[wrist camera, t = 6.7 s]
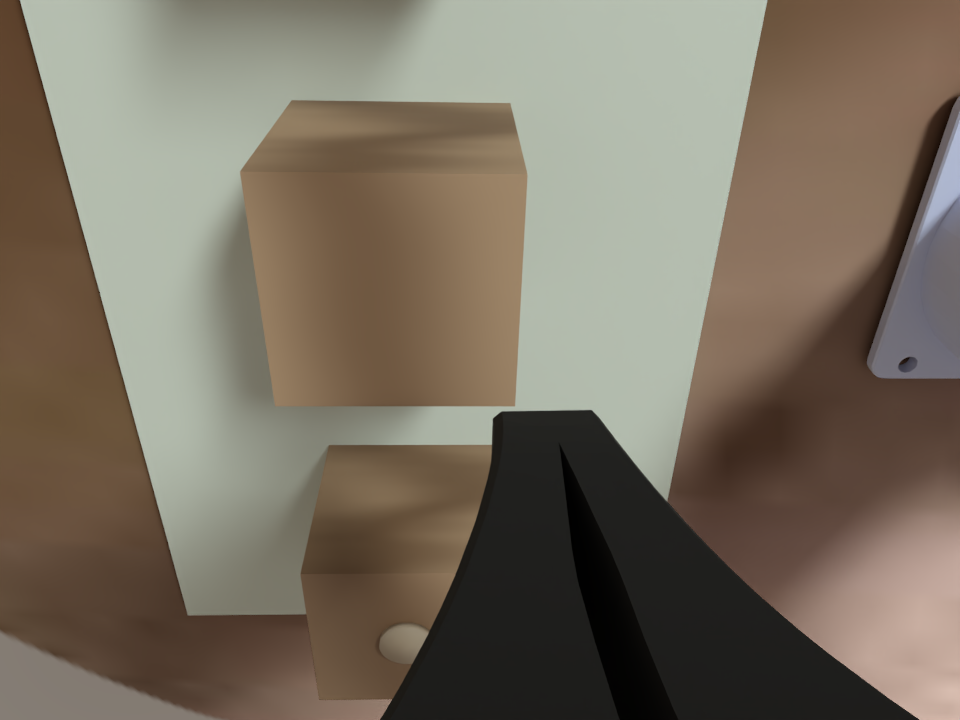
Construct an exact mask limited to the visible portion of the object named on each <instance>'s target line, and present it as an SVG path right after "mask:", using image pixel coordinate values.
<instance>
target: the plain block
mask: <svg viewBox="0 0 960 720" xmlns="http://www.w3.org/2000/svg"><path fill="white" fill-rule="evenodd" d="M240 176H241V183H242V189H243V196H244V203H245V209H246V216H247V223H248V229H249V236H250V243H251V249H252V256H253V263H254V269H255V276H256V283H257V289H258V296H259V302H260V309H261V316H262V322H263V329H264V336H265V342H266V349H267V356H268V362H269V369H270V376H271V382H272V389H273V396H274V402H275V406H515V399H516V380H517V362H518V343H519V325H520V306H521V288H522V269H523V251H524V232H525V214H526V195H527V177H528V174H527V170H526V166H525V162H524V158H523V153H522V149H521V145H520V141H519V137H518V133H517V129H516V124H515V120H514V116H513V112H512V108H511V104H510V103H465V102H391V101H316V100H291V102H290V103H289V105H288V106H287V107H286V109H285V110H284V111H283V113H282V114H281V116H280V117H279V118H278V120H277V121H276V122H275V124H274V125H273V127H272V128H271V129H270V131H269V132H268V133H267V135H266V136H265V138H264V139H263V140H262V142H261V143H260V144H259V146H258V147H257V149H256V150H255V151H254V153H253V154H252V155H251V157H250V158H249V160H248V161H247V162H246V164H245V165H244V166H243V168H242V169H241V171H240Z"/></svg>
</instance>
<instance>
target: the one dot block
mask: <svg viewBox="0 0 960 720" xmlns="http://www.w3.org/2000/svg"><path fill="white" fill-rule="evenodd" d="M491 454H492V445H329V447H328V451H327V456H326V460H325V465H324V469H323V474H322V479H321V483H320V488H319V492H318V497H317V501H316V506H315V510H314V515H313V519H312V524H311V528H310V533H309V537H308V542H307V546H306V551H305V555H304V560H303V564H302V569H301V573H300V575H301V582H302V589H303V595H304V602H305V609H306V615H307V622H308V629H309V635H310V642H311V649H312V655H313V662H314V669H315V675H316V682H317V689H318V695H319V700H361V699H393V698H394V696H395V694H396V692H397V691H398V689H399V687H400V685H401V684H402V682H403V680H404V678H405V676H406V675H407V673H408V671H409V669H410V667H411V665H412V663H413V662H414V660H415V658H416V656H417V654H418V652H419V650H420V648H421V647H422V645H423V643H424V641H425V639H426V637H427V635H428V633H429V631H430V629H431V627H432V625H433V623H434V621H435V619H436V617H437V615H438V612H439V610H440V608H441V606H442V604H443V602H444V600H445V597H446V595H447V593H448V591H449V588H450V586H451V584H452V581H453V579H454V577H455V574H456V572H457V569H458V567H459V564H460V561H461V559H462V556H463V553H464V551H465V548H466V545H467V543H468V540H469V537H470V535H471V532H472V529H473V527H474V524H475V521H476V518H477V514H478V511H479V507H480V504H481V500H482V497H483V493H484V490H485V486H486V482H487V479H488V474H489V469H490V464H491Z"/></svg>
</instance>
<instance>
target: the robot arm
mask: <svg viewBox="0 0 960 720" xmlns="http://www.w3.org/2000/svg"><path fill="white" fill-rule="evenodd" d="M907 357H910V358H909V360H908V361H907V362H906V363H904V364H901V365H899V363H900V362H901V361H902V360H903V359H905V358H907ZM867 365H868V367H869V369H870V370H871V372H872V373H873V374H874V375H876V376H877V377H879V378H890V379H960V97H959V98H958V99H957V100H956V102H955V104H954V106H953V108H952V111H951V114H950V117H949V120H948V123H947V126H946V129H945V132H944V134H943V137H942V140H941V143H940V146H939V149H938V152H937V155H936V158H935V161H934V164H933V167H932V170H931V173H930V176H929V179H928V182H927V184H926V187H925V190H924V193H923V196H922V199H921V202H920V205H919V208H918V211H917V214H916V217H915V220H914V223H913V226H912V229H911V232H910V234H909V237H908V240H907V243H906V246H905V249H904V252H903V255H902V258H901V261H900V264H899V267H898V270H897V273H896V276H895V279H894V282H893V284H892V287H891V290H890V293H889V296H888V299H887V302H886V305H885V308H884V311H883V314H882V317H881V320H880V323H879V326H878V329H877V332H876V334H875V337H874V340H873V343H872V346H871V349H870V352H869V355H868V358H867ZM380 720H919V719H918V718H916V717H915V716H913V715H912V714H910V713H909V712H907V711H906V710H905V709H903V708H902V707H900V706H899V705H897V704H896V703H895V702H893V701H892V700H890V699H889V698H887V697H886V696H885V695H883V694H882V693H881V692H879V691H878V690H877V689H875V688H874V687H873V686H871V685H870V684H869V683H867V682H866V681H865V680H863V679H862V678H861V677H859V676H858V675H857V674H855V673H854V672H852V671H851V670H850V669H848V668H847V667H846V666H844V665H843V664H842V663H840V662H839V661H838V660H836V659H835V658H834V657H832V656H831V655H830V654H828V653H827V652H826V651H825V650H823V649H822V648H821V647H820V646H818V645H817V644H816V643H815V642H813V641H812V640H811V639H810V638H808V637H807V636H806V635H805V634H803V633H802V632H801V631H800V630H798V629H797V628H796V627H795V626H794V625H793V624H791V623H790V622H789V621H788V620H787V619H786V618H784V617H783V616H782V615H781V614H780V613H779V612H778V611H776V610H775V609H774V608H773V607H772V606H771V605H769V604H768V603H767V602H766V601H765V600H764V599H762V598H761V597H760V596H759V595H758V594H757V593H756V592H755V591H754V590H752V589H751V588H750V587H749V586H748V585H747V584H746V583H745V582H744V581H743V580H742V579H741V578H740V577H739V576H738V575H737V574H736V573H735V572H733V571H732V570H731V569H730V568H729V567H728V566H727V565H726V564H725V563H724V562H723V561H722V560H721V559H720V558H719V557H718V556H717V555H716V554H715V553H714V552H713V551H712V550H711V549H710V548H709V547H708V545H707V544H706V543H705V542H704V541H703V540H702V539H701V538H700V537H699V536H698V535H697V534H696V533H695V532H694V531H693V530H692V529H691V528H690V527H689V525H688V524H687V523H686V522H685V521H684V520H683V519H682V518H681V517H680V515H679V514H678V513H677V512H676V511H675V510H674V509H673V508H672V506H671V505H670V504H669V503H668V502H667V501H666V500H665V499H664V497H663V496H662V495H661V494H660V493H659V492H658V491H657V490H656V488H655V487H654V486H653V485H652V484H651V482H650V481H649V480H648V479H647V478H646V477H645V475H644V474H643V473H642V472H641V470H640V469H639V468H638V467H637V465H636V464H635V463H634V462H633V461H632V459H631V458H630V457H629V456H628V454H627V453H626V452H625V451H624V449H623V448H622V447H621V445H620V444H619V443H618V442H617V440H616V439H615V438H614V436H613V435H612V434H611V432H610V431H609V430H608V429H607V427H606V426H605V425H604V423H603V422H602V421H601V419H600V418H599V417H598V416H597V415H596V414H595V413H594V412H593V411H592V410H555V411H501V412H500V413H499V414H498V415H496V416H495V417H494V418H493V426H492V454H491V464H490V469H489V474H488V479H487V482H486V486H485V490H484V493H483V497H482V500H481V504H480V507H479V511H478V514H477V518H476V521H475V524H474V527H473V529H472V532H471V535H470V537H469V540H468V543H467V545H466V548H465V551H464V553H463V556H462V559H461V561H460V564H459V567H458V569H457V572H456V574H455V577H454V579H453V581H452V584H451V586H450V588H449V591H448V593H447V595H446V597H445V600H444V602H443V604H442V606H441V608H440V610H439V612H438V615H437V617H436V619H435V621H434V623H433V625H432V627H431V629H430V631H429V633H428V635H427V637H426V639H425V641H424V643H423V645H422V647H421V648H420V650H419V652H418V654H417V656H416V658H415V660H414V662H413V663H412V665H411V667H410V669H409V671H408V673H407V675H406V676H405V678H404V680H403V682H402V684H401V685H400V687H399V689H398V691H397V692H396V694H395V696H394V698H393V699H392V701H391V703H390V704H389V706H388V708H387V709H386V711H385V713H384V714H383V716H382V718H381V719H380Z"/></svg>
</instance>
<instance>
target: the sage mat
mask: <svg viewBox="0 0 960 720" xmlns="http://www.w3.org/2000/svg"><path fill="white" fill-rule="evenodd" d="M20 2H21V6H22V10H23V13H24V17H25V21H26V24H27V28H28V32H29V35H30V39H31V43H32V46H33V50H34V54H35V57H36V61H37V65H38V68H39V72H40V76H41V79H42V83H43V87H44V90H45V94H46V98H47V101H48V105H49V109H50V112H51V116H52V120H53V123H54V127H55V131H56V134H57V138H58V142H59V145H60V149H61V153H62V156H63V160H64V163H65V167H66V171H67V174H68V178H69V182H70V185H71V189H72V193H73V196H74V200H75V204H76V207H77V211H78V215H79V218H80V222H81V226H82V229H83V233H84V237H85V240H86V244H87V248H88V251H89V255H90V259H91V262H92V266H93V270H94V273H95V277H96V281H97V284H98V288H99V292H100V295H101V299H102V303H103V306H104V310H105V314H106V317H107V321H108V325H109V328H110V332H111V336H112V339H113V343H114V347H115V350H116V354H117V358H118V361H119V365H120V369H121V372H122V376H123V380H124V383H125V387H126V391H127V394H128V398H129V402H130V405H131V409H132V413H133V416H134V420H135V424H136V427H137V431H138V435H139V438H140V442H141V446H142V449H143V453H144V457H145V460H146V464H147V468H148V471H149V475H150V479H151V482H152V486H153V490H154V493H155V497H156V500H157V504H158V508H159V511H160V515H161V519H162V522H163V526H164V530H165V533H166V537H167V541H168V544H169V548H170V552H171V555H172V559H173V563H174V566H175V570H176V574H177V577H178V581H179V585H180V588H181V592H182V596H183V599H184V603H185V607H186V610H187V614H188V615H286V614H306V609H305V602H304V595H303V589H302V582H301V575H300V573H301V569H302V564H303V560H304V555H305V551H306V546H307V542H308V537H309V533H310V528H311V524H312V519H313V515H314V510H315V506H316V501H317V497H318V492H319V488H320V483H321V479H322V474H323V469H324V465H325V460H326V456H327V451H328V447H329V445H492V426H493V418H494V417H495V416H496V415H498V414H499V413H500V412H501V411H555V410H592V411H593V412H594V413H595V414H596V415H597V416H598V417H599V418H600V419H601V421H602V422H603V423H604V425H605V426H606V427H607V429H608V430H609V431H610V432H611V434H612V435H613V436H614V438H615V439H616V440H617V442H618V443H619V444H620V445H621V447H622V448H623V449H624V451H625V452H626V453H627V454H628V456H629V457H630V458H631V459H632V461H633V462H634V463H635V464H636V465H637V467H638V468H639V469H640V470H641V472H642V473H643V474H644V475H645V477H646V478H647V479H648V480H649V481H650V482H651V484H652V485H653V486H654V487H655V488H656V490H657V491H658V492H659V493H660V494H661V495H662V496H663V497H664V499H665V500H666V501H667V500H668V495H669V490H670V485H671V480H672V475H673V470H674V465H675V460H676V455H677V450H678V445H679V440H680V435H681V430H682V425H683V420H684V415H685V410H686V405H687V400H688V395H689V390H690V385H691V380H692V375H693V370H694V365H695V360H696V354H697V349H698V344H699V339H700V334H701V329H702V324H703V319H704V314H705V309H706V304H707V299H708V294H709V289H710V284H711V279H712V274H713V269H714V264H715V259H716V254H717V249H718V244H719V239H720V234H721V229H722V224H723V219H724V214H725V209H726V204H727V199H728V194H729V189H730V184H731V179H732V174H733V169H734V164H735V159H736V154H737V149H738V144H739V139H740V134H741V129H742V124H743V119H744V114H745V109H746V104H747V99H748V94H749V89H750V84H751V79H752V74H753V69H754V64H755V59H756V54H757V49H758V44H759V39H760V34H761V29H762V24H763V19H764V14H765V9H766V4H767V0H20ZM291 100H316V101H391V102H465V103H510V104H511V108H512V112H513V116H514V120H515V124H516V129H517V133H518V137H519V141H520V145H521V149H522V153H523V158H524V162H525V166H526V170H527V174H528V177H527V195H526V214H525V232H524V251H523V269H522V288H521V306H520V325H519V343H518V362H517V380H516V399H515V406H275V402H274V396H273V389H272V382H271V376H270V369H269V362H268V356H267V349H266V342H265V336H264V329H263V322H262V316H261V309H260V302H259V296H258V289H257V283H256V276H255V269H254V263H253V256H252V249H251V243H250V236H249V229H248V223H247V216H246V209H245V203H244V196H243V189H242V183H241V176H240V171H241V169H242V168H243V166H244V165H245V164H246V162H247V161H248V160H249V158H250V157H251V155H252V154H253V153H254V151H255V150H256V149H257V147H258V146H259V144H260V143H261V142H262V140H263V139H264V138H265V136H266V135H267V133H268V132H269V131H270V129H271V128H272V127H273V125H274V124H275V122H276V121H277V120H278V118H279V117H280V116H281V114H282V113H283V111H284V110H285V109H286V107H287V106H288V105H289V103H290V102H291Z"/></svg>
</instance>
